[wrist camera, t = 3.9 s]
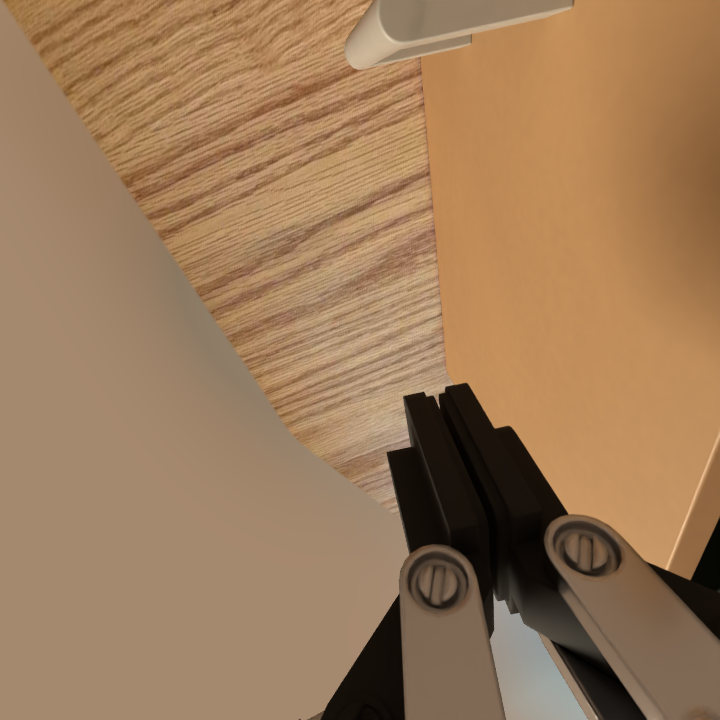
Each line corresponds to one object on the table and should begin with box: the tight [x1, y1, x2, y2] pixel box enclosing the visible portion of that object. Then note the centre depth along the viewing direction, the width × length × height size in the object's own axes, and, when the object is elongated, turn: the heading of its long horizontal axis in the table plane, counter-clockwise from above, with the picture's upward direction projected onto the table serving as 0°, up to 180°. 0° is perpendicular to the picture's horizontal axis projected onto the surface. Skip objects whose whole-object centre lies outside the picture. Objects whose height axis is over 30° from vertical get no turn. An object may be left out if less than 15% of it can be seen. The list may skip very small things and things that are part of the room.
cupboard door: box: [344, 0, 720, 580], centre depth 20 cm, size 6×26×24 cm, turn 11°
